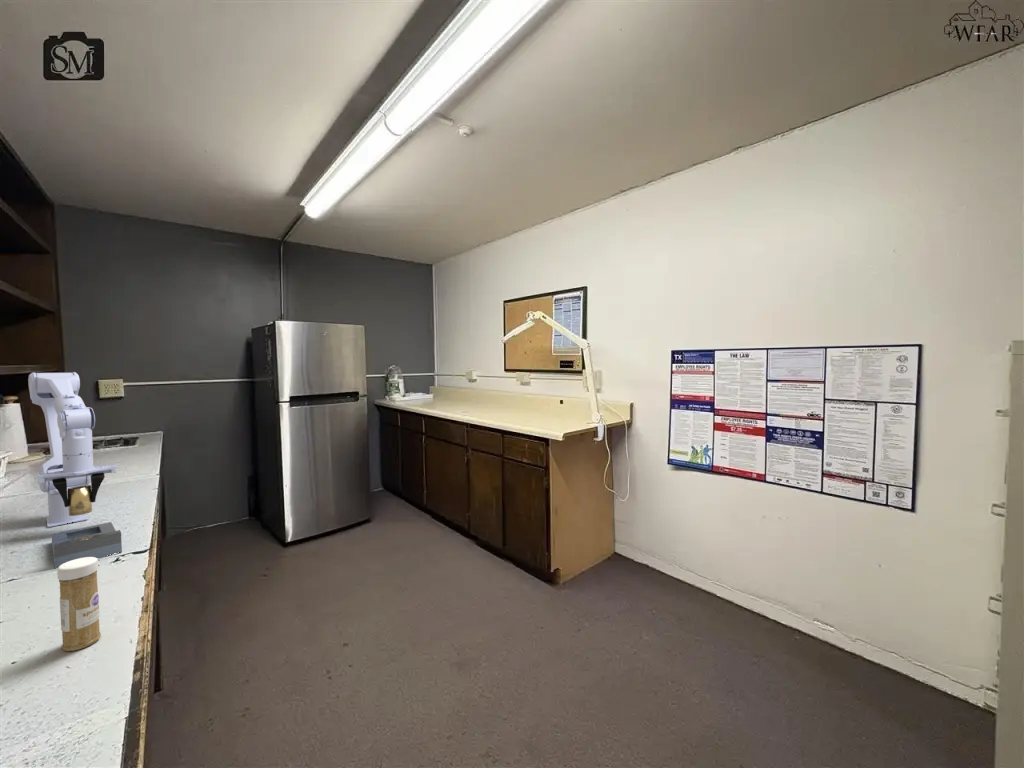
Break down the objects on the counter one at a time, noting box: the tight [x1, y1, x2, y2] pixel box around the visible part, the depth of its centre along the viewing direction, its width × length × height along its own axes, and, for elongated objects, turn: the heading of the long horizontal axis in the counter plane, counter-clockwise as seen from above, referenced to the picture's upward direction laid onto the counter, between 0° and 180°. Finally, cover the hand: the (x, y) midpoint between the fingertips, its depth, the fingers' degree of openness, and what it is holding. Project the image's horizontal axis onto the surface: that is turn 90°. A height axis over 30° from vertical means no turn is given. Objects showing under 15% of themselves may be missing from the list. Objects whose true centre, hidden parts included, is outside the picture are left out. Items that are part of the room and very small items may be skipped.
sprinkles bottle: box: [57, 557, 102, 652], centre depth 69 cm, size 5×5×14 cm
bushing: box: [68, 484, 93, 516], centre depth 114 cm, size 4×4×7 cm
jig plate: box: [51, 521, 123, 570], centre depth 104 cm, size 20×11×5 cm, turn 49°
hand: (80, 503), depth 114 cm, fingers closed on bushing, 4 cm apart
